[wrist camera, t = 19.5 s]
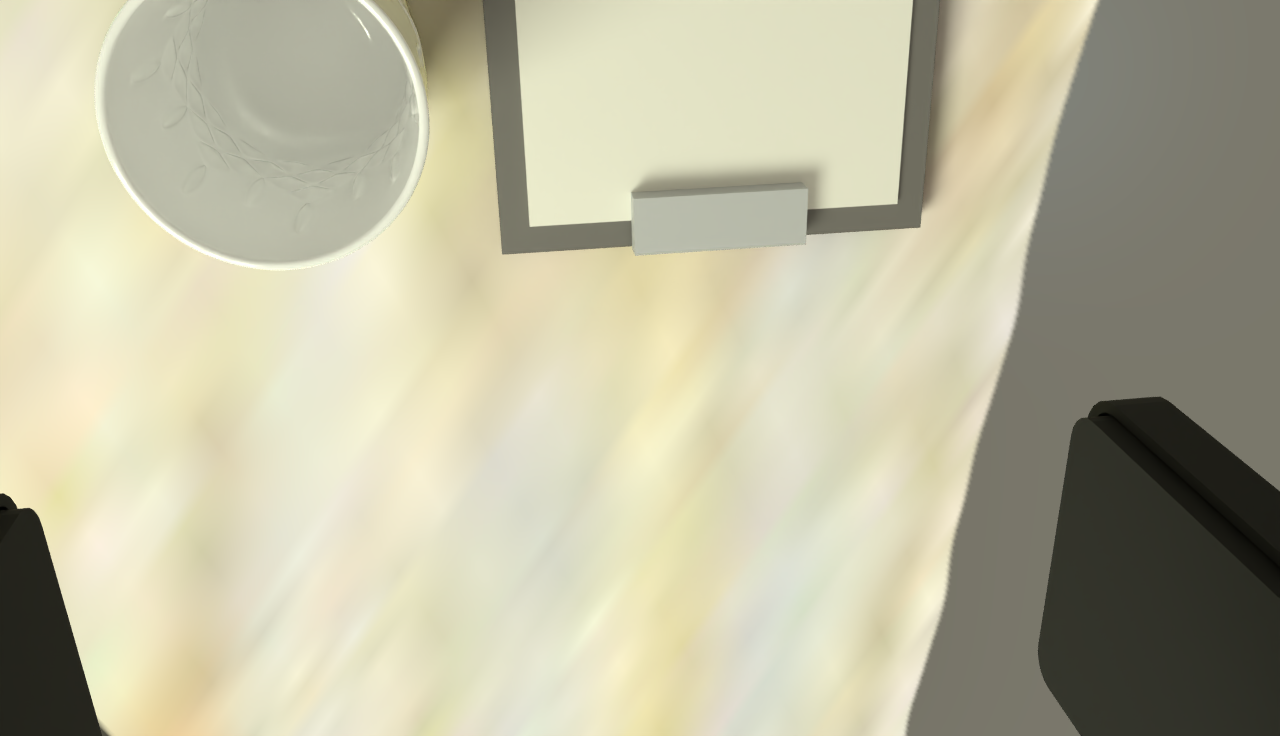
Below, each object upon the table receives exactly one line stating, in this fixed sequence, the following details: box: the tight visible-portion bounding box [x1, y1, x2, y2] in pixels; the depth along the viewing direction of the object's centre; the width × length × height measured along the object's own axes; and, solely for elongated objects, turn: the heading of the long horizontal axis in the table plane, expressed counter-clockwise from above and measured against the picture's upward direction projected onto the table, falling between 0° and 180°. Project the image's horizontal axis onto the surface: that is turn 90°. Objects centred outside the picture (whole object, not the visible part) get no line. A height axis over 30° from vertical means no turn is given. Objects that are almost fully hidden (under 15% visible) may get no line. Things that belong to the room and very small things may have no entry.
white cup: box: [94, 0, 429, 270], centre depth 33 cm, size 8×8×10 cm
